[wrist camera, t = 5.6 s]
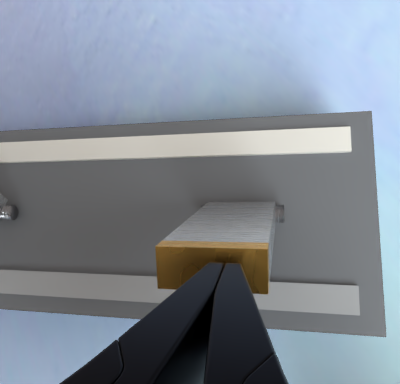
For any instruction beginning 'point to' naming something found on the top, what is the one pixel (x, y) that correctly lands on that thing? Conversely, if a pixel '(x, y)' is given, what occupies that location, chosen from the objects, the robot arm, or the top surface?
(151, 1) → the top surface
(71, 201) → the switch box
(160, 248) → the lever
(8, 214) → the lever
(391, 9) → the top surface
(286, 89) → the top surface
